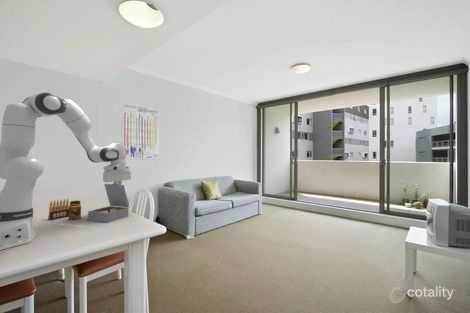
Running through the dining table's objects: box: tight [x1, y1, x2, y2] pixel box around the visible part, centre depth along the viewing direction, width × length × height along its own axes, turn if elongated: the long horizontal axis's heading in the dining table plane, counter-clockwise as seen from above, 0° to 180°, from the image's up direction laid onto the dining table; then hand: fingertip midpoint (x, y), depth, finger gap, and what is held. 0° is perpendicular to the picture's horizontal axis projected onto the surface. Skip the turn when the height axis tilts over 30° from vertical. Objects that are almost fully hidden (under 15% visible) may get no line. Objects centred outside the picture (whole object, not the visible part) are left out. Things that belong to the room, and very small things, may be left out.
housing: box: [87, 205, 129, 224], centre depth 136 cm, size 16×15×6 cm
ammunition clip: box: [47, 198, 70, 221], centre depth 137 cm, size 11×2×12 cm, turn 151°
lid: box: [104, 183, 130, 208], centre depth 142 cm, size 16×15×2 cm
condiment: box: [67, 200, 82, 221], centre depth 133 cm, size 7×8×12 cm
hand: (117, 187), depth 142 cm, fingers closed
